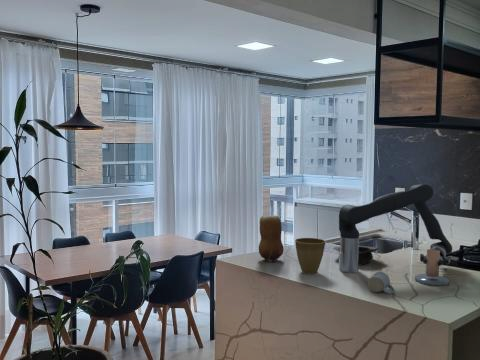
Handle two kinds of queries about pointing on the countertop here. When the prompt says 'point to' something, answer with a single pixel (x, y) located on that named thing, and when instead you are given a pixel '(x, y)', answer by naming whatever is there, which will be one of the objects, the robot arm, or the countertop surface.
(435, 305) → the countertop surface
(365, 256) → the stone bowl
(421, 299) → the countertop surface
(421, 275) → the slate dish
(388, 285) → the ceramic mug
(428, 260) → the canister
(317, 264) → the plant pot
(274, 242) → the butternut squash
